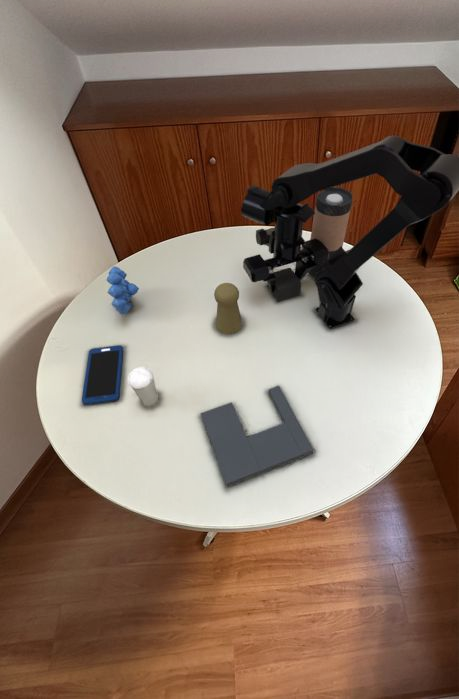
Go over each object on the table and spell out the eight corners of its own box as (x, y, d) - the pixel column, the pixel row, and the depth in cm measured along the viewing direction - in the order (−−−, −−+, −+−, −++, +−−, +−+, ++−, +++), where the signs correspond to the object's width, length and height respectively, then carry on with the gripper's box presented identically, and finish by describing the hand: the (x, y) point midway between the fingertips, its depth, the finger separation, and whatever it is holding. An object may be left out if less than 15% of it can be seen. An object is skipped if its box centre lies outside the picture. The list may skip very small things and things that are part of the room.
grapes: (145, 324, 85) (131, 285, 76) (115, 328, 85) (98, 290, 75) (145, 290, 92) (132, 251, 83) (118, 294, 92) (102, 254, 83)
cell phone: (123, 346, 81) (122, 344, 81) (119, 400, 73) (118, 398, 72) (90, 350, 81) (89, 348, 80) (82, 405, 72) (80, 403, 72)
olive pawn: (239, 335, 81) (237, 300, 73) (213, 332, 82) (208, 297, 74) (244, 316, 85) (243, 279, 76) (219, 313, 86) (215, 277, 77)
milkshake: (155, 416, 70) (142, 388, 62) (134, 403, 72) (119, 375, 64) (169, 398, 73) (159, 369, 65) (149, 386, 74) (136, 357, 67)
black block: (289, 279, 92) (290, 267, 89) (300, 295, 88) (301, 282, 85) (267, 286, 91) (267, 273, 88) (277, 302, 87) (278, 289, 84)
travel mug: (339, 279, 91) (357, 205, 75) (307, 280, 91) (319, 206, 75) (334, 260, 95) (349, 185, 80) (304, 261, 96) (314, 187, 80)
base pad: (278, 389, 72) (278, 385, 71) (312, 453, 64) (313, 449, 63) (201, 416, 70) (200, 413, 68) (226, 487, 61) (226, 484, 60)
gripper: (310, 201, 83) (303, 258, 95) (232, 222, 80) (235, 277, 92) (335, 228, 76) (324, 285, 88) (252, 251, 73) (252, 307, 85)
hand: (283, 287), depth 89 cm, fingers closed on black block, 6 cm apart
